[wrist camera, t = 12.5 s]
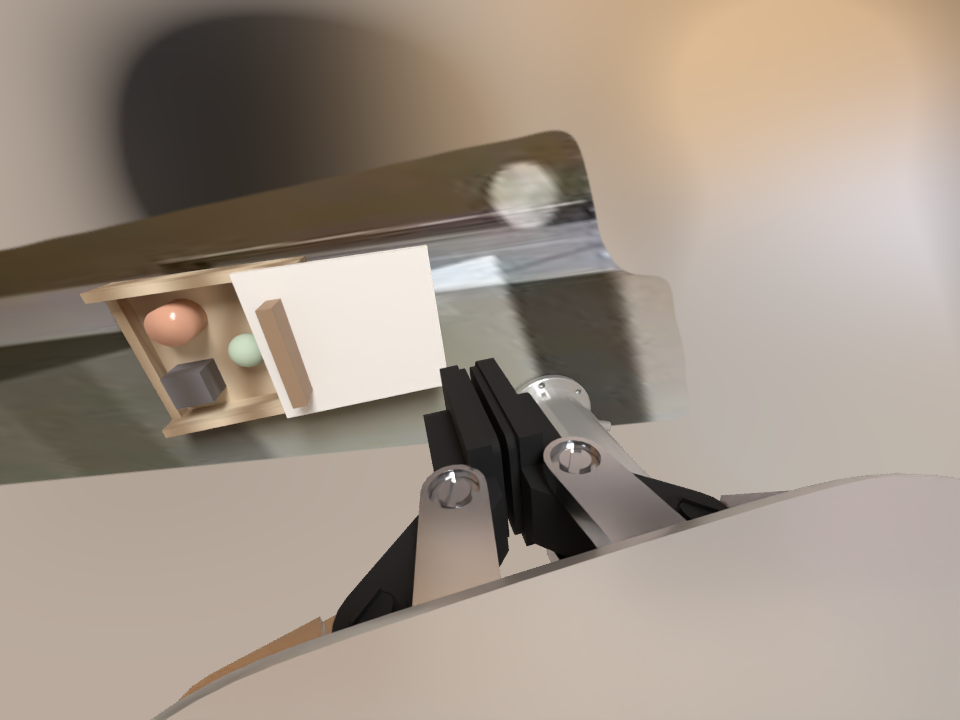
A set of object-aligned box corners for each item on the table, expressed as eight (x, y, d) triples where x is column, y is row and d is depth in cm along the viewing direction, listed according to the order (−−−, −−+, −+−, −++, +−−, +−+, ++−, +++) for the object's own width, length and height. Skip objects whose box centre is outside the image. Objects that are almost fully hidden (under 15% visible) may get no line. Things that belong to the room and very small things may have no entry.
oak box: (304, 255, 35) (296, 263, 31) (344, 383, 41) (340, 401, 37) (112, 282, 32) (79, 294, 29) (185, 415, 38) (166, 438, 35)
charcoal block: (213, 358, 36) (199, 372, 33) (226, 386, 37) (214, 402, 35) (177, 364, 36) (159, 379, 33) (192, 392, 37) (176, 409, 34)
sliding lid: (425, 245, 33) (430, 251, 30) (447, 380, 39) (454, 398, 36) (232, 272, 30) (214, 283, 27) (289, 413, 36) (279, 436, 33)
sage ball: (272, 332, 36) (263, 344, 34) (270, 361, 37) (261, 375, 35) (235, 325, 35) (223, 337, 33) (233, 355, 36) (221, 369, 34)
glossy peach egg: (208, 303, 34) (192, 313, 31) (207, 337, 35) (191, 349, 32) (163, 294, 33) (143, 304, 30) (164, 330, 34) (144, 342, 31)
